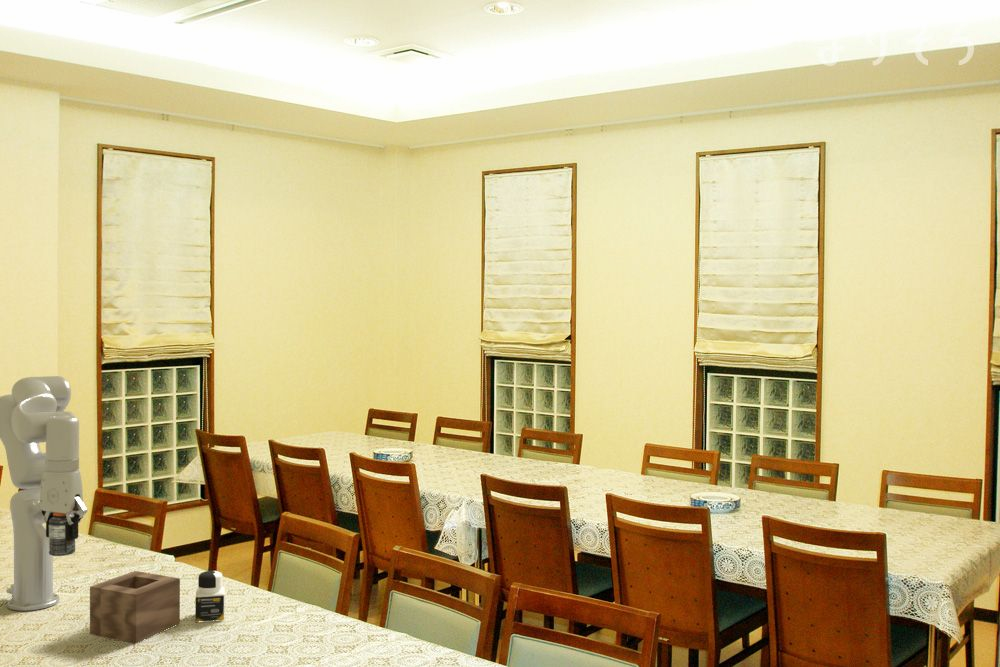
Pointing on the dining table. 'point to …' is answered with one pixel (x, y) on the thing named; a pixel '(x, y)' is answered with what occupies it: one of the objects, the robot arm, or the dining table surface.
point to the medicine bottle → (210, 597)
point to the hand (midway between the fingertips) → (62, 537)
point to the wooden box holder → (134, 606)
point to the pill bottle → (59, 536)
